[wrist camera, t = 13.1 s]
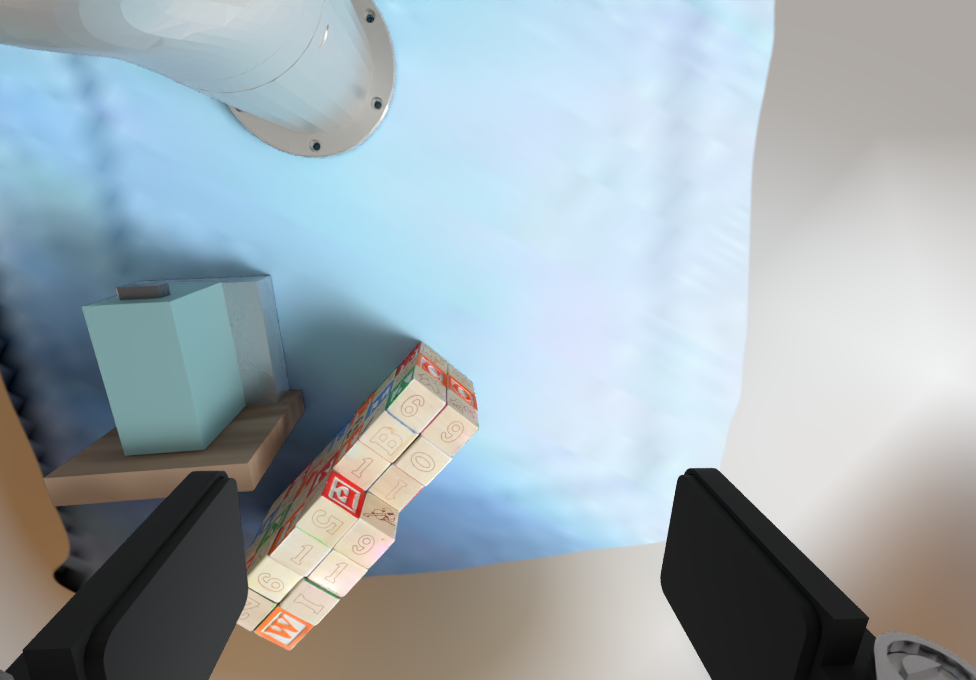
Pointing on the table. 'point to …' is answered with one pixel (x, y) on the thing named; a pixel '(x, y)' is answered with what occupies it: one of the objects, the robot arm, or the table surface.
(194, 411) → the teal cabinet
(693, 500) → the robot arm
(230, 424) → the wooden bookend
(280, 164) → the table surface
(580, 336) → the table surface
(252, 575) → the stack of blocks
